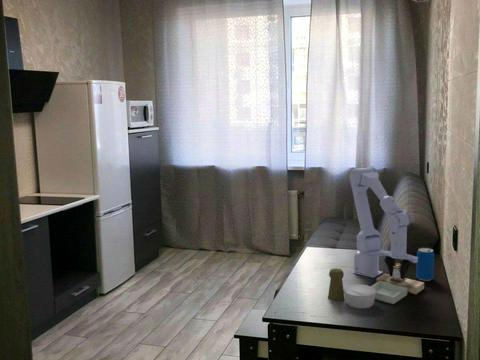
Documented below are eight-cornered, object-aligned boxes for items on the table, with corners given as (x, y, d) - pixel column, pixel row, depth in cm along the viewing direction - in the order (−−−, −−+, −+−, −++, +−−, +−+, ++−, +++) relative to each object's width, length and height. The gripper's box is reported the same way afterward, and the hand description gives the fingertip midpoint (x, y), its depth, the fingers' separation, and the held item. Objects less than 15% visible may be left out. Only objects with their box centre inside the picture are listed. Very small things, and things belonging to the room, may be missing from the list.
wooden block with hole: (376, 284, 201) (376, 278, 201) (384, 279, 206) (384, 273, 206) (416, 294, 190) (416, 287, 190) (423, 288, 196) (424, 282, 195)
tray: (365, 296, 189) (365, 289, 189) (379, 287, 198) (379, 281, 197) (393, 304, 182) (393, 297, 182) (407, 294, 190) (407, 287, 190)
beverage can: (434, 282, 202) (435, 252, 200) (417, 281, 203) (418, 252, 201) (431, 276, 208) (432, 247, 206) (415, 275, 210) (416, 247, 208)
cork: (334, 302, 185) (334, 273, 183) (324, 297, 190) (324, 268, 188) (348, 299, 187) (348, 270, 185) (337, 293, 193) (337, 265, 191)
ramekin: (341, 307, 180) (341, 293, 179) (346, 296, 191) (346, 282, 190) (373, 312, 176) (374, 297, 175) (377, 299, 186) (377, 286, 186)
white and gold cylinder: (390, 286, 199) (390, 265, 197) (394, 283, 202) (395, 262, 200) (400, 288, 196) (400, 267, 195) (404, 285, 199) (405, 264, 198)
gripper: (376, 242, 198) (375, 275, 200) (412, 248, 188) (411, 284, 191) (384, 238, 203) (383, 270, 205) (420, 244, 194) (419, 278, 196)
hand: (397, 277), depth 198 cm, fingers closed on white and gold cylinder, 4 cm apart
